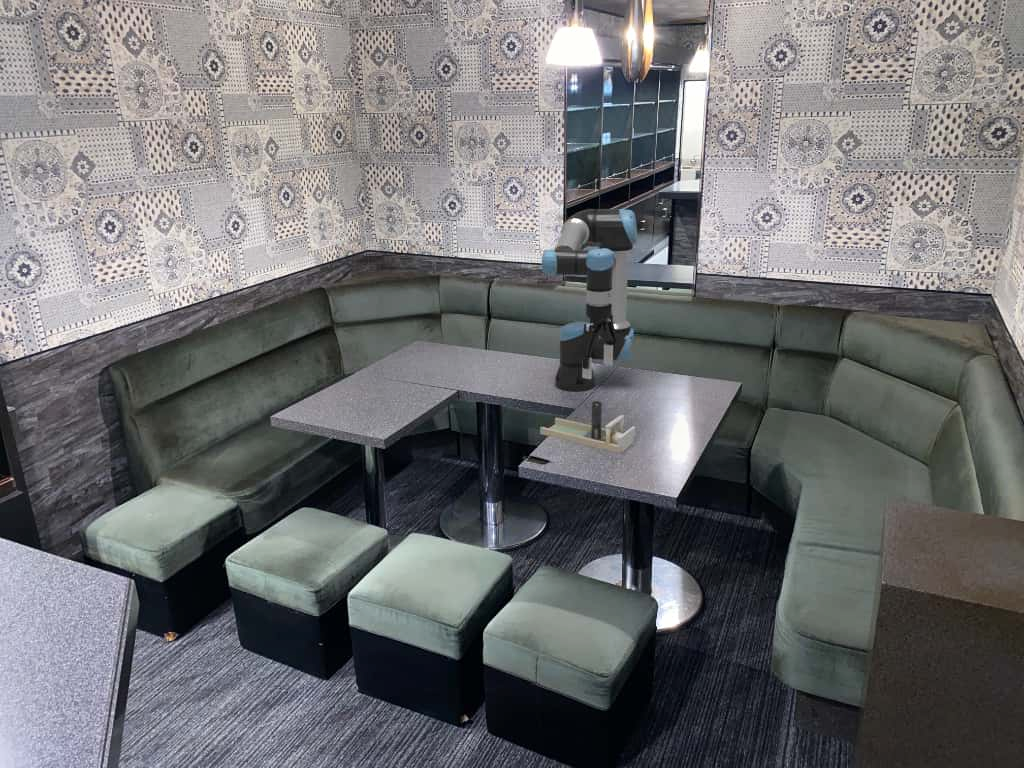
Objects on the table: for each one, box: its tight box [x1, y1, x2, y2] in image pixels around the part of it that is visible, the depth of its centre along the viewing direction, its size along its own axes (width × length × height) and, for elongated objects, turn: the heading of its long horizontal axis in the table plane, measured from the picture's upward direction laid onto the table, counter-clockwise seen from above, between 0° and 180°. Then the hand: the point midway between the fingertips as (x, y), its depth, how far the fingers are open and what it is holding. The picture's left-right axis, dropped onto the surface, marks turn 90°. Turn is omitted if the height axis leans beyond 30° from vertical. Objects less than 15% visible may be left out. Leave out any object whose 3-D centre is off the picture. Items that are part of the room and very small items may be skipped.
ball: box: [612, 433, 622, 445], centre depth 237 cm, size 4×4×4 cm
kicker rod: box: [583, 400, 616, 443], centre depth 239 cm, size 8×7×12 cm
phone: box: [522, 453, 551, 465], centre depth 236 cm, size 8×1×15 cm
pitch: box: [539, 414, 636, 454], centre depth 242 cm, size 28×10×9 cm, turn 56°
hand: (597, 371), depth 236 cm, fingers open, 13 cm apart
